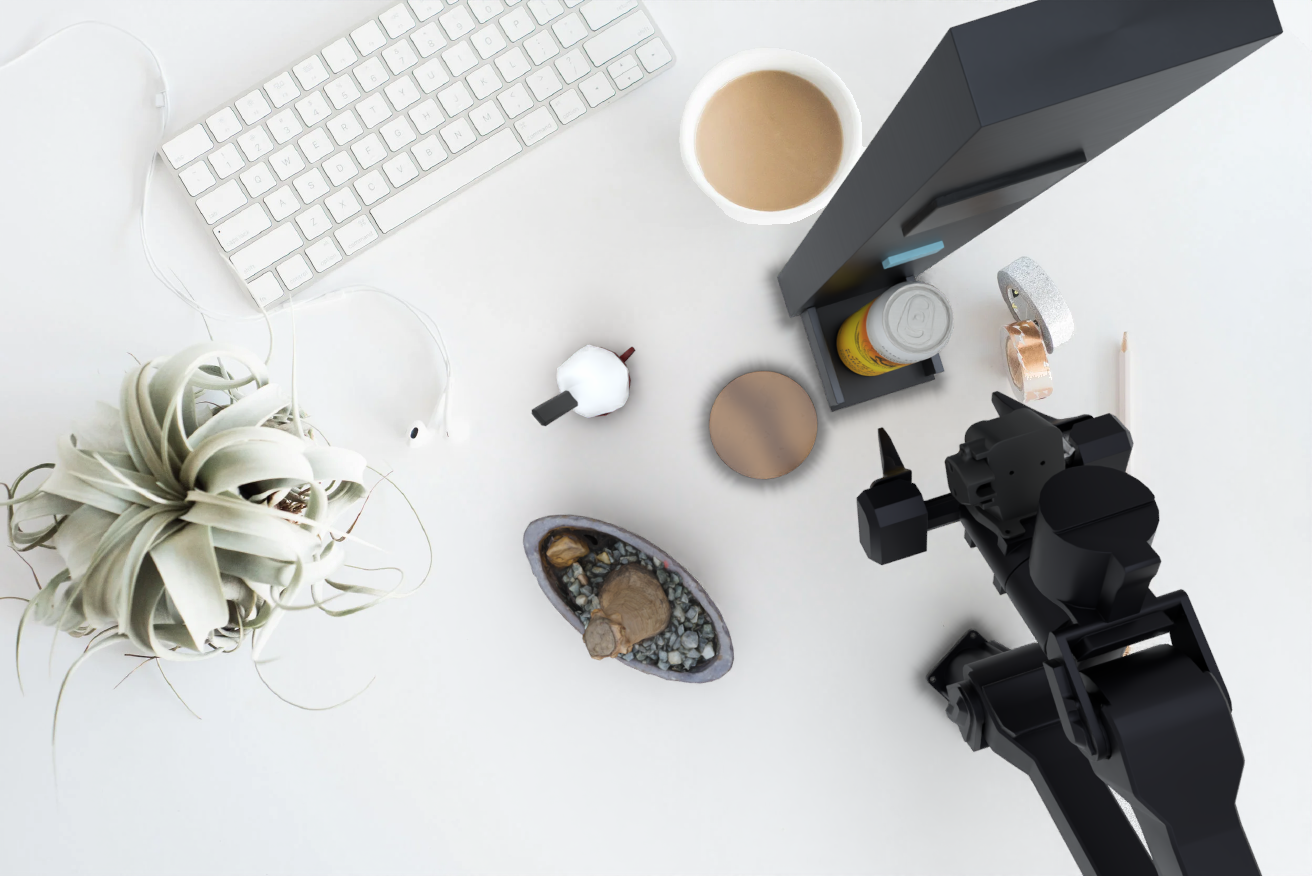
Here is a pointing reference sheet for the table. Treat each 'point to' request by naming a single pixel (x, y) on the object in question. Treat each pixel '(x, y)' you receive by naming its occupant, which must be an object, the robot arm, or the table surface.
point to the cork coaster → (763, 425)
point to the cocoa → (588, 385)
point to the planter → (628, 599)
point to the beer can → (896, 329)
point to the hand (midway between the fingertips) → (936, 413)
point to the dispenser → (998, 145)
